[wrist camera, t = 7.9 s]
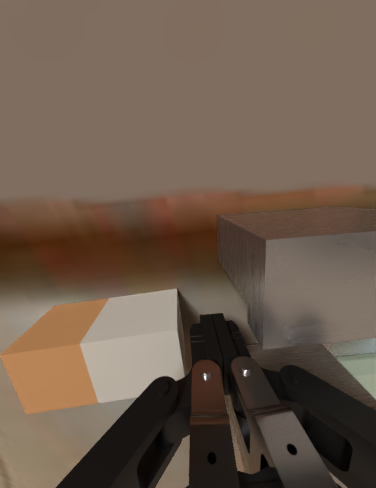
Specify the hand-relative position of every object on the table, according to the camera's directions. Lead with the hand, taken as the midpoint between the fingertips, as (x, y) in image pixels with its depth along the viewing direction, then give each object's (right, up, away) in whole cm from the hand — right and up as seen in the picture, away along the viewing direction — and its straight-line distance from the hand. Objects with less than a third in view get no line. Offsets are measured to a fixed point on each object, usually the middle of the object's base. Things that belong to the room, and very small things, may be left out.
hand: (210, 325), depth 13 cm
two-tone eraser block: (-6, 0, +2) cm, 7 cm away
